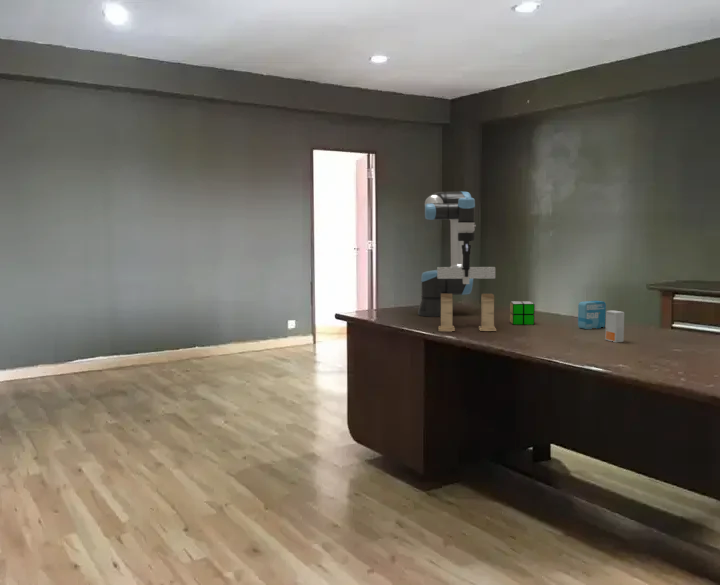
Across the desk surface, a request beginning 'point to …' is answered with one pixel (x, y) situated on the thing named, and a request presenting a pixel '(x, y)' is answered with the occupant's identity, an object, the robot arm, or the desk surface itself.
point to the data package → (591, 314)
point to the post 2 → (487, 313)
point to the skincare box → (614, 326)
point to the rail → (458, 273)
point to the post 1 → (446, 313)
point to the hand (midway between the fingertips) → (465, 283)
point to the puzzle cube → (522, 312)
